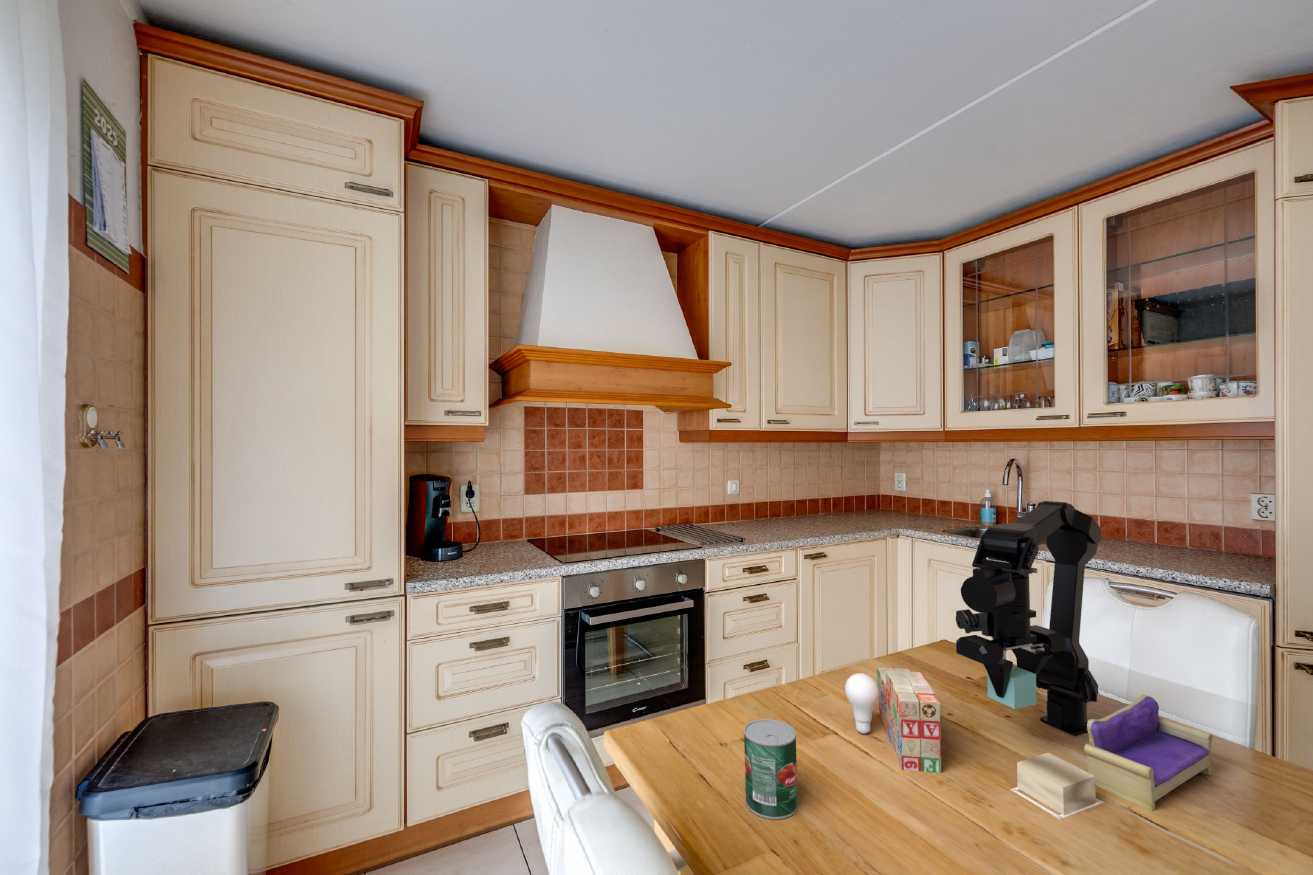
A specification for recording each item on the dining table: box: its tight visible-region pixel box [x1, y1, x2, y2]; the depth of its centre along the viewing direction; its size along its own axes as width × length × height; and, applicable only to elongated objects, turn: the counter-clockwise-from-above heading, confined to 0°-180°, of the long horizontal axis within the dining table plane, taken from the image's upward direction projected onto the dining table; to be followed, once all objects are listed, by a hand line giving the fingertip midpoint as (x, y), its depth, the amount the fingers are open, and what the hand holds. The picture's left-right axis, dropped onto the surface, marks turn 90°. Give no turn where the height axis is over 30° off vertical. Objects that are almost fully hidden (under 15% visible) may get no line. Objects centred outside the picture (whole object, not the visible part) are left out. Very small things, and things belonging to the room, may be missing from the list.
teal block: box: [986, 664, 1037, 710], centre depth 97 cm, size 5×5×5 cm
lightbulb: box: [844, 672, 880, 735], centre depth 107 cm, size 6×6×11 cm
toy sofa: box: [1083, 694, 1213, 812], centre depth 91 cm, size 21×9×10 cm, turn 117°
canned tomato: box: [743, 718, 799, 821], centre depth 87 cm, size 8×8×11 cm
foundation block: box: [1016, 752, 1097, 815], centre depth 86 cm, size 7×7×4 cm
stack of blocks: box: [876, 667, 942, 774], centre depth 104 cm, size 21×6×12 cm, turn 169°
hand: (1011, 694), depth 97 cm, fingers closed on teal block, 5 cm apart
